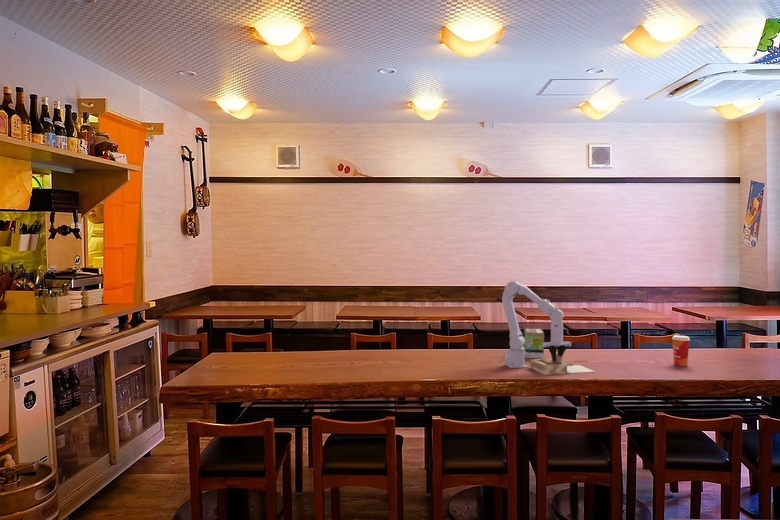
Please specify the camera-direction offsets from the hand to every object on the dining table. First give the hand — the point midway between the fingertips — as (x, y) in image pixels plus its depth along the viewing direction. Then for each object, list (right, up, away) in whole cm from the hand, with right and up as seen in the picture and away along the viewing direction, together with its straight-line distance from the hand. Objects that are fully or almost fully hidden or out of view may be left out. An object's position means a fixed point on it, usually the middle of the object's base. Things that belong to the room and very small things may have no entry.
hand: (556, 360), depth 250 cm
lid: (0, -1, 0) cm, 1 cm away
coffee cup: (+69, -5, +12) cm, 70 cm away
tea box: (-2, -5, +34) cm, 35 cm away
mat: (+9, -5, +2) cm, 11 cm away
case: (-4, -5, -1) cm, 7 cm away
